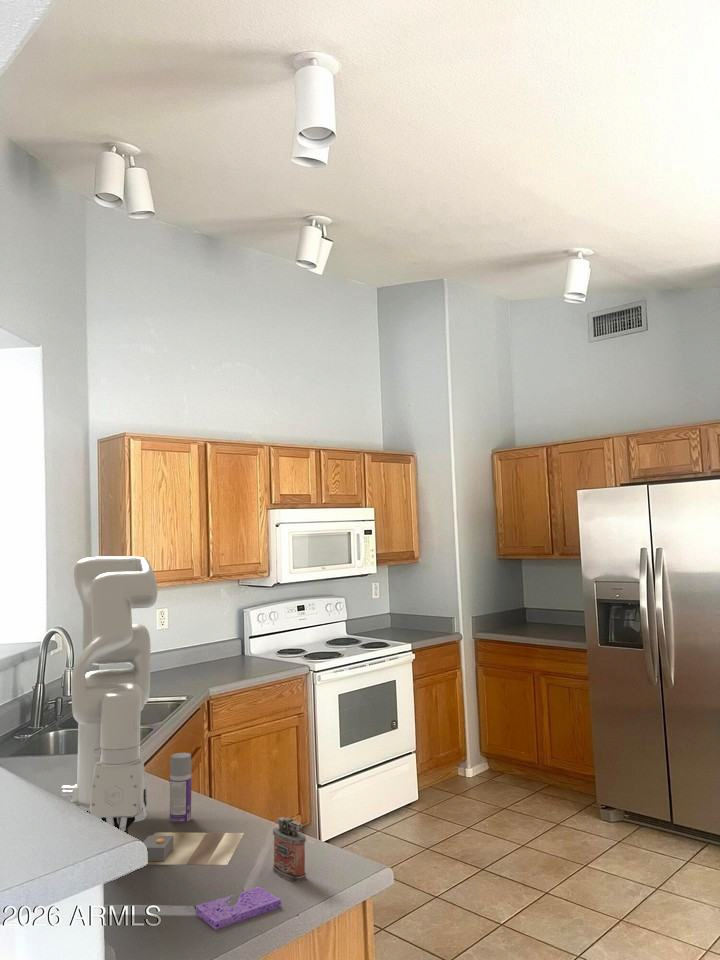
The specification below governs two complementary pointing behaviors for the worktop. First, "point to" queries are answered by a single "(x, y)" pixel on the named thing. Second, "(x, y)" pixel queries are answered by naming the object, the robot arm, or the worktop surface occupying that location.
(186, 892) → the worktop surface
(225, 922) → the sponges
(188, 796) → the container
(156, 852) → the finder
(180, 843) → the board
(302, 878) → the lighter
